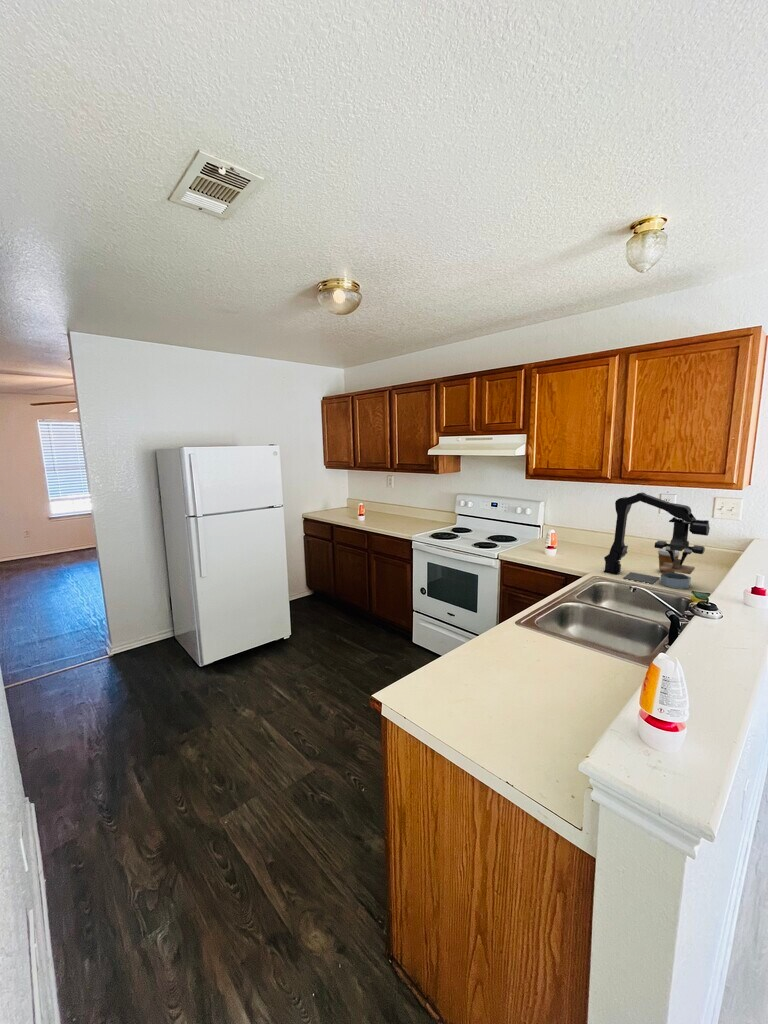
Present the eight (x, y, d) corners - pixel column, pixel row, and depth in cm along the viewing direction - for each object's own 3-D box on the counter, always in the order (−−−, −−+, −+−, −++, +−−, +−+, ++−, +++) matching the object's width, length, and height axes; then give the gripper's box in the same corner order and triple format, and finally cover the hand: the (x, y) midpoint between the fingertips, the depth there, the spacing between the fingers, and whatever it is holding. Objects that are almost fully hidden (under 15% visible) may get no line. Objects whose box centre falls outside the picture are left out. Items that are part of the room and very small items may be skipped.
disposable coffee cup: (681, 576, 212) (683, 553, 210) (660, 575, 214) (662, 552, 212) (672, 570, 221) (674, 548, 219) (652, 569, 223) (654, 547, 221)
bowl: (658, 585, 198) (659, 576, 197) (663, 580, 206) (664, 571, 205) (686, 590, 191) (687, 581, 190) (691, 584, 198) (692, 575, 198)
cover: (659, 569, 197) (659, 561, 196) (664, 564, 205) (665, 556, 205) (690, 574, 189) (691, 565, 188) (694, 568, 197) (695, 560, 196)
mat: (623, 578, 208) (623, 577, 208) (630, 573, 217) (630, 572, 217) (653, 584, 199) (653, 583, 199) (659, 578, 208) (659, 577, 208)
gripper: (653, 532, 195) (650, 564, 197) (702, 538, 182) (698, 572, 185) (658, 529, 203) (655, 560, 205) (706, 534, 190) (702, 567, 192)
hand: (677, 564), depth 197 cm, fingers closed on cover, 2 cm apart
